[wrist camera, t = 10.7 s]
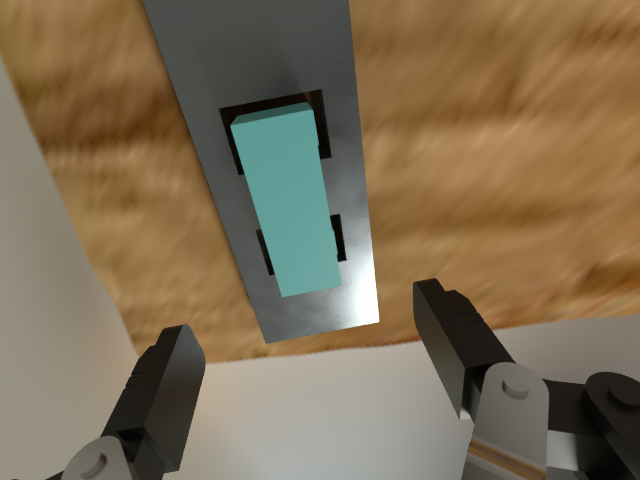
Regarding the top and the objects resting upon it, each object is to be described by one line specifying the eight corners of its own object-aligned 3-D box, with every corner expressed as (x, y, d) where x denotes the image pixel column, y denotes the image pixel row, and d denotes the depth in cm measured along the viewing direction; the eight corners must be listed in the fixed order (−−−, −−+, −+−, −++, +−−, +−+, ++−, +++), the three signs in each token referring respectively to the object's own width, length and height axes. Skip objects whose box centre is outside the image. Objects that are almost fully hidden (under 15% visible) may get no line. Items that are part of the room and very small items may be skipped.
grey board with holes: (333, -67, 17) (340, -85, 15) (372, 302, 30) (379, 321, 28) (146, -32, 17) (126, -45, 15) (267, 323, 30) (265, 343, 28)
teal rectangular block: (307, 95, 21) (316, 108, 16) (333, 239, 26) (345, 284, 21) (239, 108, 21) (225, 126, 16) (279, 250, 26) (278, 298, 21)
